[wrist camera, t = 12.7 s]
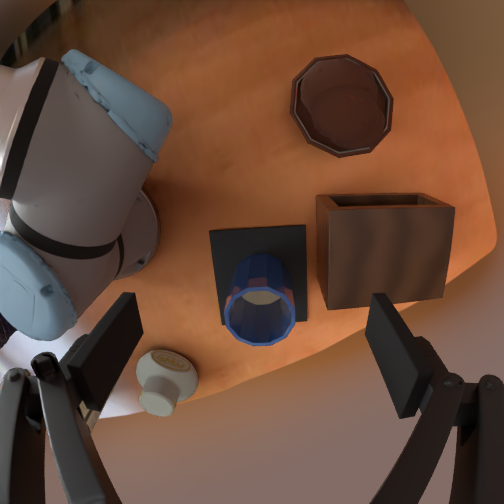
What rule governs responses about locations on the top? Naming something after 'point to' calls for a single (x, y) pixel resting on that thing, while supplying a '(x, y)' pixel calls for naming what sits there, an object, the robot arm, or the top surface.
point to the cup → (260, 301)
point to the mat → (261, 242)
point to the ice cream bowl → (341, 105)
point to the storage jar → (5, 330)
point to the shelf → (382, 247)
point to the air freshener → (165, 381)
